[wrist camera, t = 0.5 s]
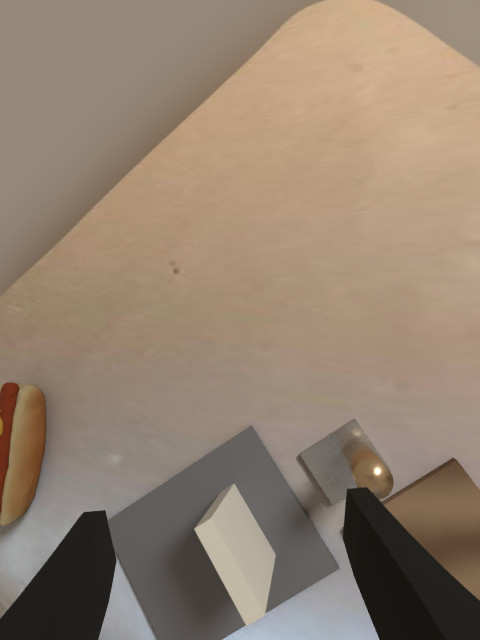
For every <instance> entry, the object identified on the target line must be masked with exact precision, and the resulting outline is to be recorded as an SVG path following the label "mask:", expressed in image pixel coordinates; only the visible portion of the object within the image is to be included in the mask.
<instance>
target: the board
mask: <svg viewBox="0 0 480 640" xmlns="http://www.w3.org/2000/svg"><path fill="white" fill-rule="evenodd" d="M381 503H382V504H383V505H384V506H385V507H386V508H387V509H388V510H389V512H390V513H391V514H392V515H393V516H394V517H395V518H396V519H397V520H398V521H399V522H400V523H401V524H402V526H403V527H404V528H405V529H406V530H407V531H408V532H409V533H410V534H411V535H412V536H413V537H414V538H415V539H416V540H417V541H418V542H419V543H420V544H421V545H422V546H423V547H424V548H425V549H426V550H427V551H428V552H429V553H430V554H431V555H432V556H433V557H434V558H435V559H436V560H437V561H438V562H439V563H440V564H441V565H442V566H443V567H444V568H445V569H446V570H447V571H448V572H449V573H450V574H451V575H452V576H453V577H455V578H456V579H457V580H458V581H459V582H460V583H461V584H462V585H463V586H464V587H465V588H466V589H467V590H469V591H470V592H471V593H472V594H473V595H474V596H475V597H476V598H477V599H479V600H480V490H479V489H478V487H477V486H476V485H475V483H474V482H473V481H472V479H471V478H470V477H469V475H468V474H467V473H466V472H465V470H464V469H463V468H462V466H461V465H460V464H459V462H458V461H457V460H456V459H454V458H452V459H451V460H449V461H447V462H446V463H444V464H443V465H441V466H439V467H438V468H436V469H434V470H433V471H431V472H430V473H428V474H426V475H425V476H423V477H421V478H420V479H418V480H417V481H415V482H413V483H412V484H410V485H408V486H407V487H405V488H404V489H402V490H400V491H399V492H397V493H395V494H394V495H392V496H391V497H389V498H387V499H386V500H384V501H382V502H381Z"/></svg>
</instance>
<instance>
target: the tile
mask: <svg viewBox="0 0 480 640" xmlns="http://www.w3.org/2000/svg"><path fill="white" fill-rule="evenodd" d="M194 530H195V532H196V533H197V535H198V537H199V539H200V541H201V543H202V545H203V546H204V548H205V550H206V552H207V554H208V556H209V558H210V559H211V561H212V563H213V565H214V567H215V569H216V571H217V572H218V574H219V576H220V578H221V580H222V582H223V584H224V585H225V587H226V589H227V591H228V593H229V595H230V597H231V598H232V600H233V602H234V604H235V606H236V608H237V610H238V611H239V613H240V615H241V617H242V619H243V621H244V622H245V624H246V626H248V625H250V624H252V623H253V622H255V621H256V620H258V619H260V618H261V617H263V616H265V612H266V606H267V601H268V595H269V590H270V584H271V579H272V573H273V568H274V562H275V557H276V554H275V552H274V551H273V549H272V547H271V546H270V544H269V542H268V540H267V539H266V537H265V535H264V534H263V532H262V530H261V528H260V527H259V525H258V523H257V522H256V520H255V518H254V516H253V515H252V513H251V511H250V510H249V508H248V506H247V504H246V503H245V501H244V499H243V498H242V496H241V494H240V493H239V491H238V489H237V487H236V486H235V484H232V485H231V486H229V487H228V488H226V489H225V490H223V491H221V493H220V494H219V495H218V497H217V498H216V499H215V501H214V502H213V504H212V505H211V506H210V508H209V509H208V511H207V512H206V513H205V515H204V516H203V517H202V519H201V520H200V522H199V523H198V524H197V526H196V527H195V528H194Z"/></svg>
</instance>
